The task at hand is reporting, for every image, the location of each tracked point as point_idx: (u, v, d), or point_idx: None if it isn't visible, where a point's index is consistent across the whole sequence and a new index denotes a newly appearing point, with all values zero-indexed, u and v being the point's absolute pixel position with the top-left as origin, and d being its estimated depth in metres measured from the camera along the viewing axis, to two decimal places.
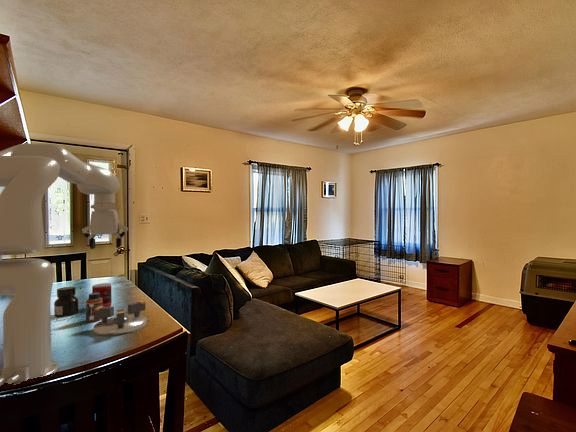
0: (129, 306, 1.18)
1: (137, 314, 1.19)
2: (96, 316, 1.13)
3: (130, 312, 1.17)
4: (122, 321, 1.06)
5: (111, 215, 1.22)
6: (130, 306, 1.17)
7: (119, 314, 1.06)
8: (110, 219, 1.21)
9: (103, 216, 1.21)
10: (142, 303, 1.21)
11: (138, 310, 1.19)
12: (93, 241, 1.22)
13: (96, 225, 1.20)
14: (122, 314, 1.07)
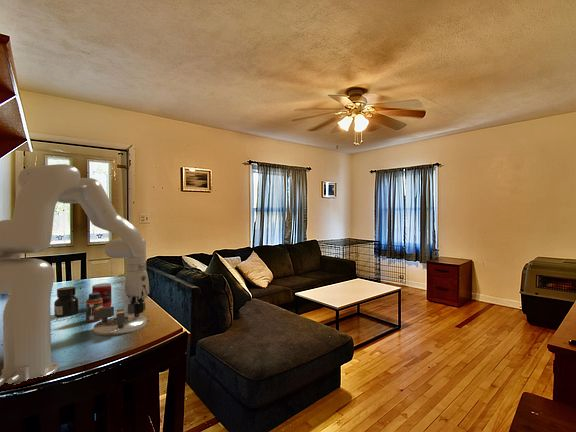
0: (129, 306, 1.18)
1: (137, 314, 1.19)
2: (96, 316, 1.13)
3: (130, 312, 1.17)
4: (122, 321, 1.06)
5: None
6: (130, 306, 1.17)
7: (119, 314, 1.06)
8: None
9: None
10: None
11: None
12: None
13: None
14: (122, 314, 1.07)
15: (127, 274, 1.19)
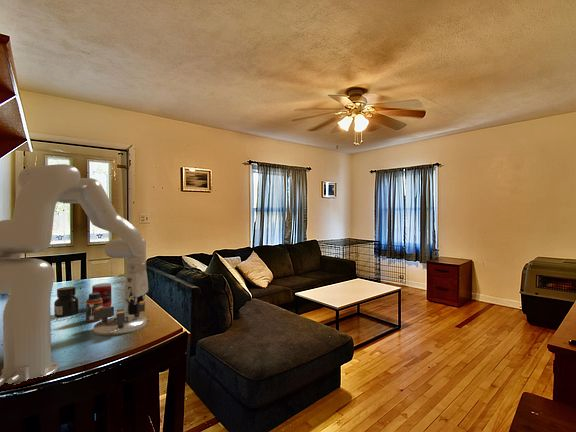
0: (128, 305, 1.19)
1: None
2: (96, 316, 1.13)
3: (128, 311, 1.19)
4: (122, 321, 1.06)
5: (146, 275, 1.24)
6: (128, 305, 1.19)
7: (119, 314, 1.06)
8: (146, 278, 1.23)
9: (143, 276, 1.21)
10: (141, 304, 1.20)
11: None
12: None
13: (140, 287, 1.18)
14: (122, 314, 1.07)
15: None
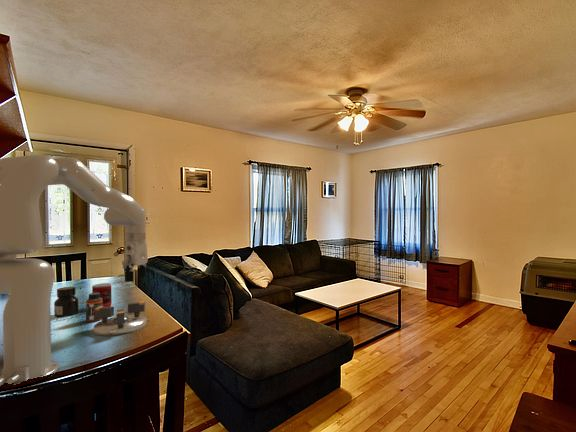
0: None
1: (135, 314, 1.19)
2: (96, 316, 1.13)
3: None
4: (122, 321, 1.06)
5: (145, 245, 1.24)
6: None
7: (119, 314, 1.06)
8: (145, 249, 1.23)
9: (142, 246, 1.21)
10: (140, 304, 1.19)
11: (136, 310, 1.19)
12: None
13: (139, 256, 1.18)
14: (122, 314, 1.07)
15: None
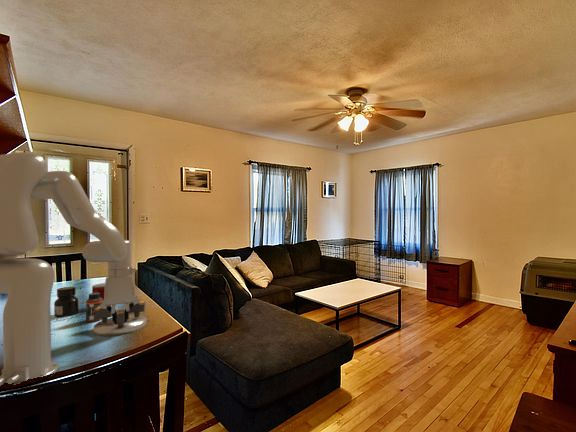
0: None
1: (135, 314, 1.19)
2: (96, 316, 1.13)
3: None
4: (122, 321, 1.06)
5: None
6: None
7: (119, 314, 1.06)
8: None
9: None
10: (140, 304, 1.19)
11: (135, 310, 1.19)
12: (124, 313, 1.09)
13: None
14: (122, 314, 1.07)
15: (112, 281, 1.06)
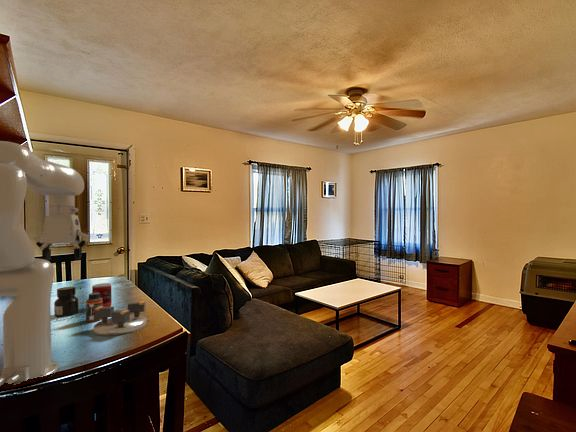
0: None
1: (135, 314, 1.19)
2: (96, 316, 1.13)
3: None
4: (128, 319, 1.09)
5: None
6: None
7: (126, 312, 1.08)
8: None
9: None
10: (140, 304, 1.19)
11: (135, 310, 1.19)
12: None
13: None
14: (128, 312, 1.09)
15: (50, 218, 1.00)
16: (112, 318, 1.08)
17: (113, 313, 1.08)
